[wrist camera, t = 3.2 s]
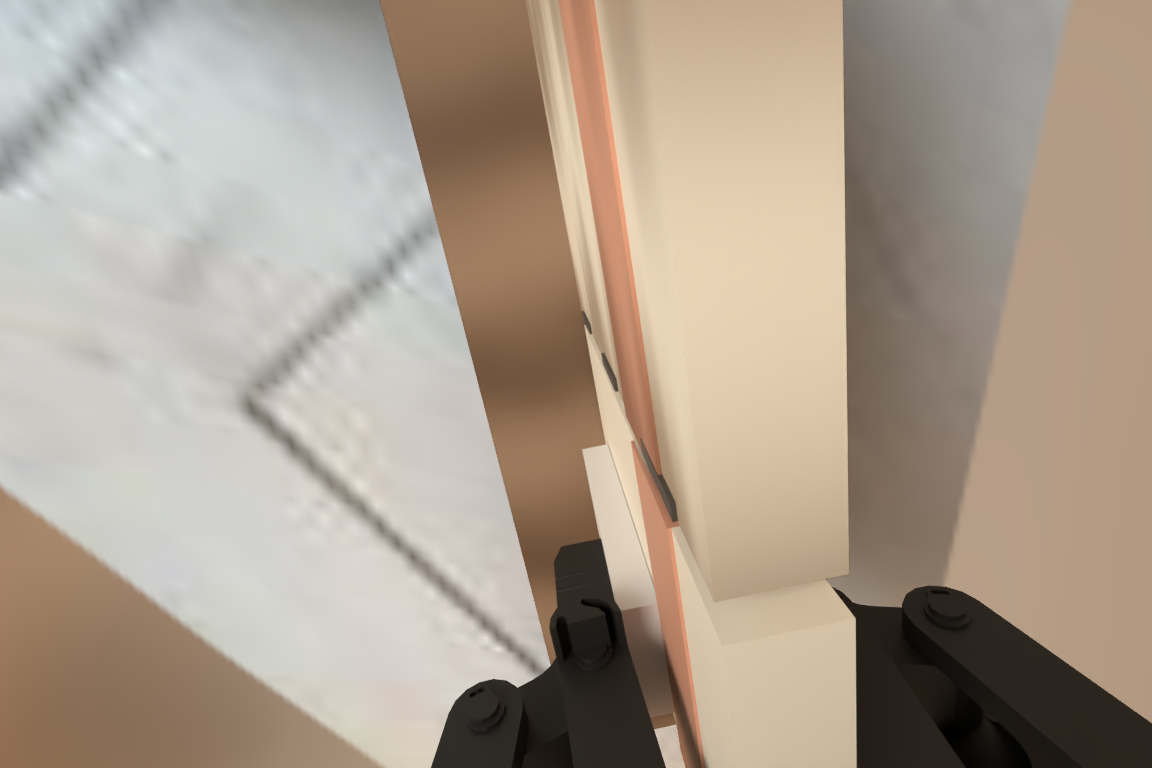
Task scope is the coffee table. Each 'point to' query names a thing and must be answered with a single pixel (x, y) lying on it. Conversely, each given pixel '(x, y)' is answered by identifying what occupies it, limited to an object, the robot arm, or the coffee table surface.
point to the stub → (738, 640)
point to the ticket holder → (649, 261)
